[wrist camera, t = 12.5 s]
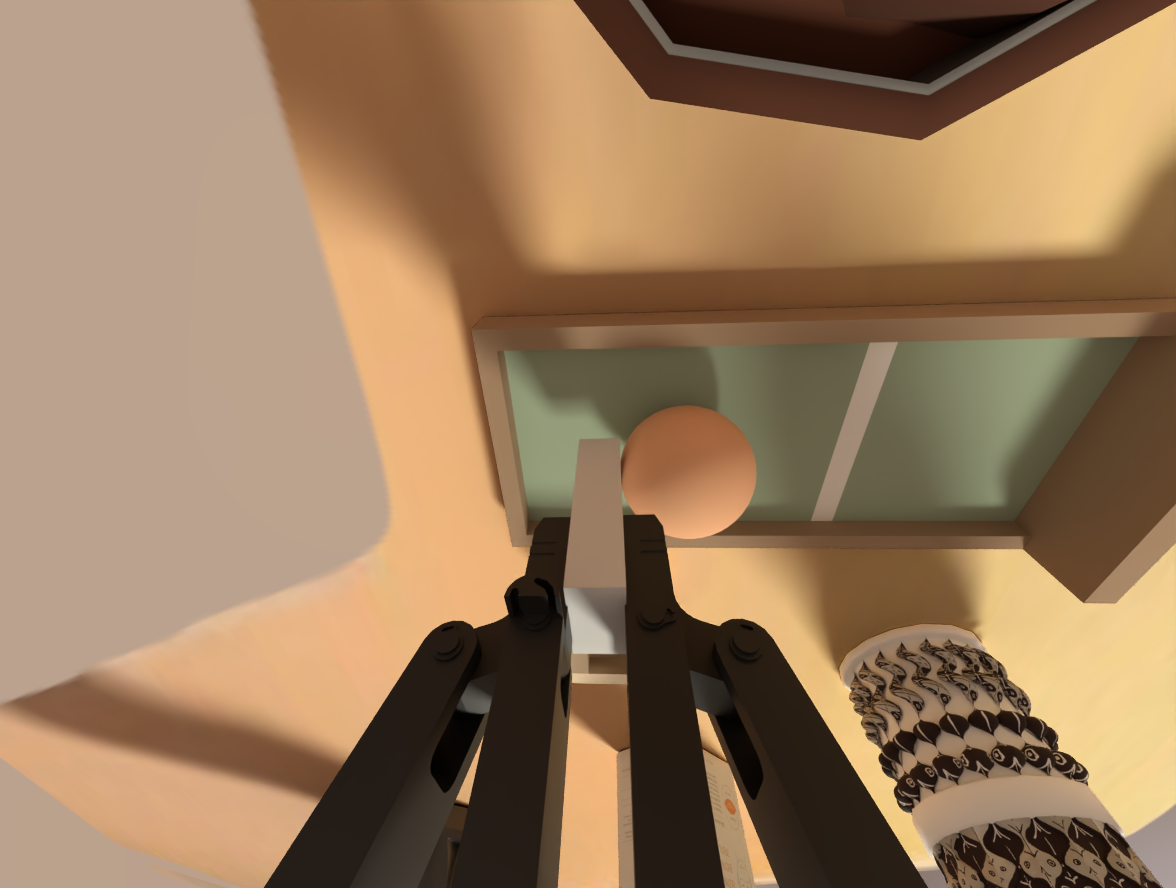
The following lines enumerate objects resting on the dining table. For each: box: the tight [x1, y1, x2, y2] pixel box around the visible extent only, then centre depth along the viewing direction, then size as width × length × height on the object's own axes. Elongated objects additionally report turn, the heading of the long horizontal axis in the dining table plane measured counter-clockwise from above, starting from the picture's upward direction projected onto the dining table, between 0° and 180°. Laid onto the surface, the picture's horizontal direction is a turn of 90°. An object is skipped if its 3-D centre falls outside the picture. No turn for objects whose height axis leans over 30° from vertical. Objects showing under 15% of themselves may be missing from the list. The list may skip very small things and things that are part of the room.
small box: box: [617, 749, 755, 888], centre depth 30 cm, size 8×6×13 cm
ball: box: [620, 405, 757, 539], centre depth 16 cm, size 5×5×5 cm
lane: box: [471, 298, 1176, 603], centre depth 16 cm, size 25×11×4 cm, turn 92°
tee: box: [571, 651, 627, 684], centre depth 22 cm, size 4×4×5 cm
